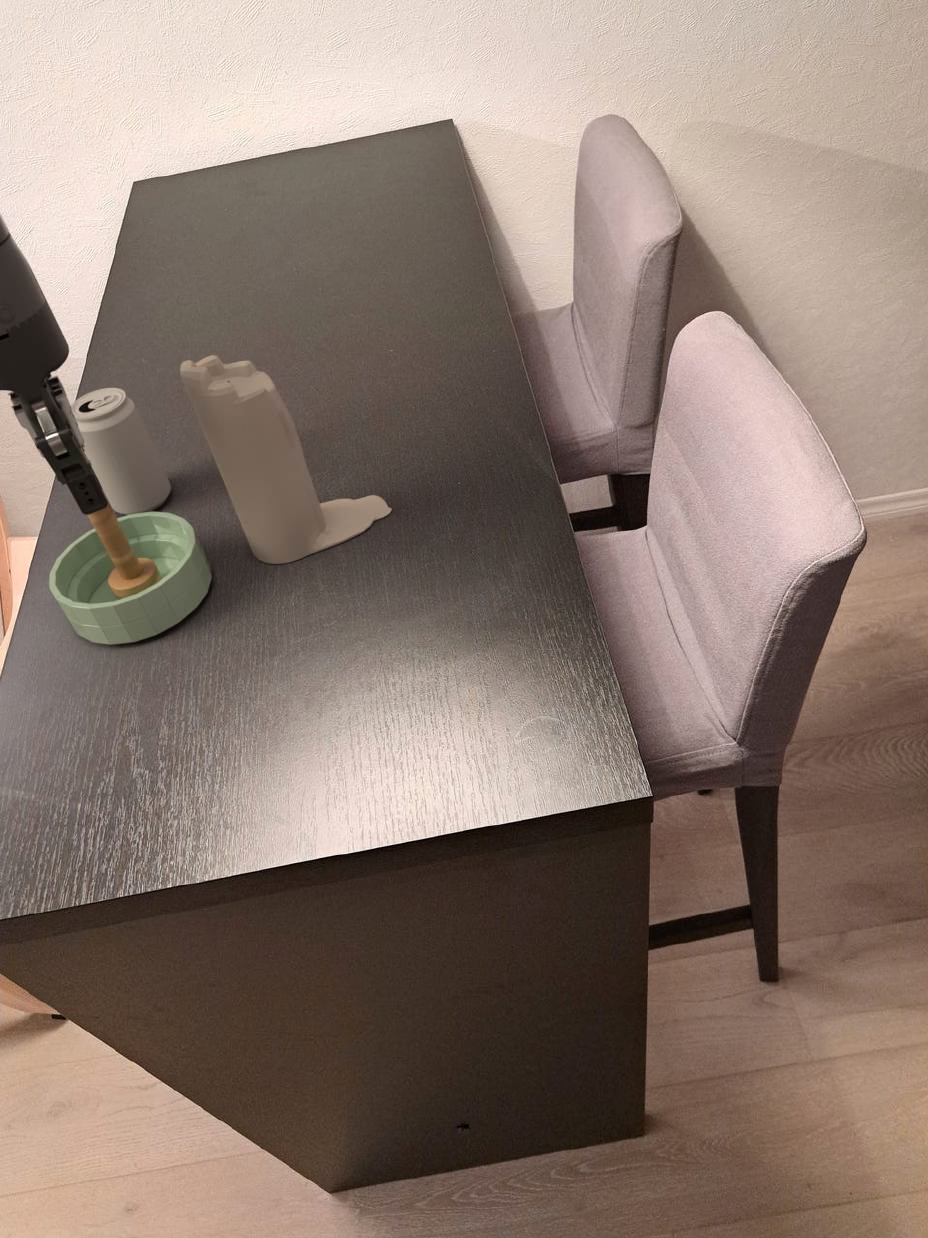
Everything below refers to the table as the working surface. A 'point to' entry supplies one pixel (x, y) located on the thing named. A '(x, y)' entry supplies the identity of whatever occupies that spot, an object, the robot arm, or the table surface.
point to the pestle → (123, 557)
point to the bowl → (153, 609)
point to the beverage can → (121, 451)
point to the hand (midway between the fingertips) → (93, 501)
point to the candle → (268, 464)
